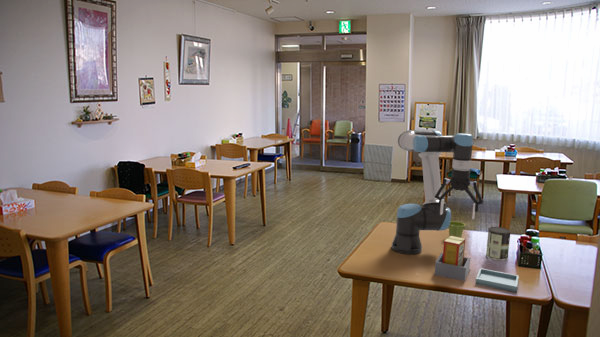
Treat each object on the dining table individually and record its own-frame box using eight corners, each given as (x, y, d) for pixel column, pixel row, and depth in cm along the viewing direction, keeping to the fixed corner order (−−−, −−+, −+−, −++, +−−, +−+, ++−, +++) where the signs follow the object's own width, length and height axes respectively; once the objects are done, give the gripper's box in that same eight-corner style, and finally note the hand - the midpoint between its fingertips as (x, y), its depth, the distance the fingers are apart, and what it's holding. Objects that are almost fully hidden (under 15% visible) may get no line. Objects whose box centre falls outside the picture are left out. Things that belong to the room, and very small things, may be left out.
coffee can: (505, 254, 232) (508, 227, 229) (510, 261, 222) (513, 233, 219) (483, 252, 234) (486, 225, 231) (487, 259, 224) (490, 232, 221)
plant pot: (443, 236, 258) (444, 221, 257) (459, 235, 259) (460, 221, 258) (450, 241, 249) (451, 226, 247) (467, 241, 250) (468, 226, 248)
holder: (434, 274, 204) (435, 262, 203) (440, 264, 216) (441, 252, 215) (464, 281, 198) (465, 268, 197) (469, 270, 210) (470, 258, 209)
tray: (475, 283, 196) (476, 278, 195) (479, 273, 207) (479, 268, 207) (516, 292, 188) (517, 286, 188) (518, 280, 200) (518, 275, 199)
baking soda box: (455, 277, 202) (458, 243, 199) (441, 274, 205) (444, 240, 203) (462, 271, 209) (465, 237, 206) (448, 267, 213) (451, 234, 210)
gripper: (430, 167, 201) (426, 214, 205) (491, 173, 190) (486, 222, 194) (433, 165, 208) (430, 210, 211) (492, 170, 196) (488, 218, 200)
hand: (457, 216), depth 203 cm, fingers open, 13 cm apart
